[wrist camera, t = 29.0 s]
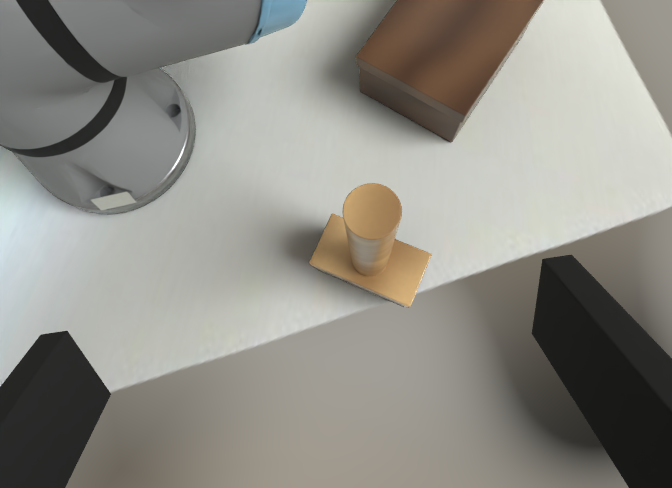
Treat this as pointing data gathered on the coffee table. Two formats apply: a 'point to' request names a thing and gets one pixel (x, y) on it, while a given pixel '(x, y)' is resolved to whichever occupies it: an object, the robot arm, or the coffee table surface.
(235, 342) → the coffee table surface
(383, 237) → the brush
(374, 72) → the walnut box
